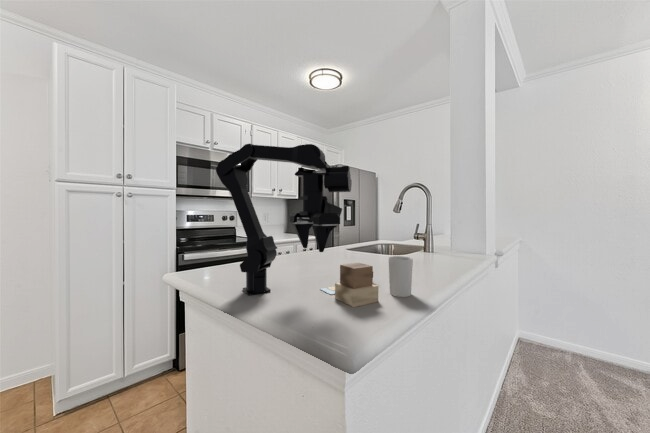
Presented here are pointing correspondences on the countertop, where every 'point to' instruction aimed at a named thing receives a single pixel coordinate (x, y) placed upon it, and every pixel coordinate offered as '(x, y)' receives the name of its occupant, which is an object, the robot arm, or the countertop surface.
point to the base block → (356, 294)
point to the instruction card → (329, 290)
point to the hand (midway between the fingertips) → (312, 249)
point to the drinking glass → (400, 275)
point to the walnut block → (356, 275)
